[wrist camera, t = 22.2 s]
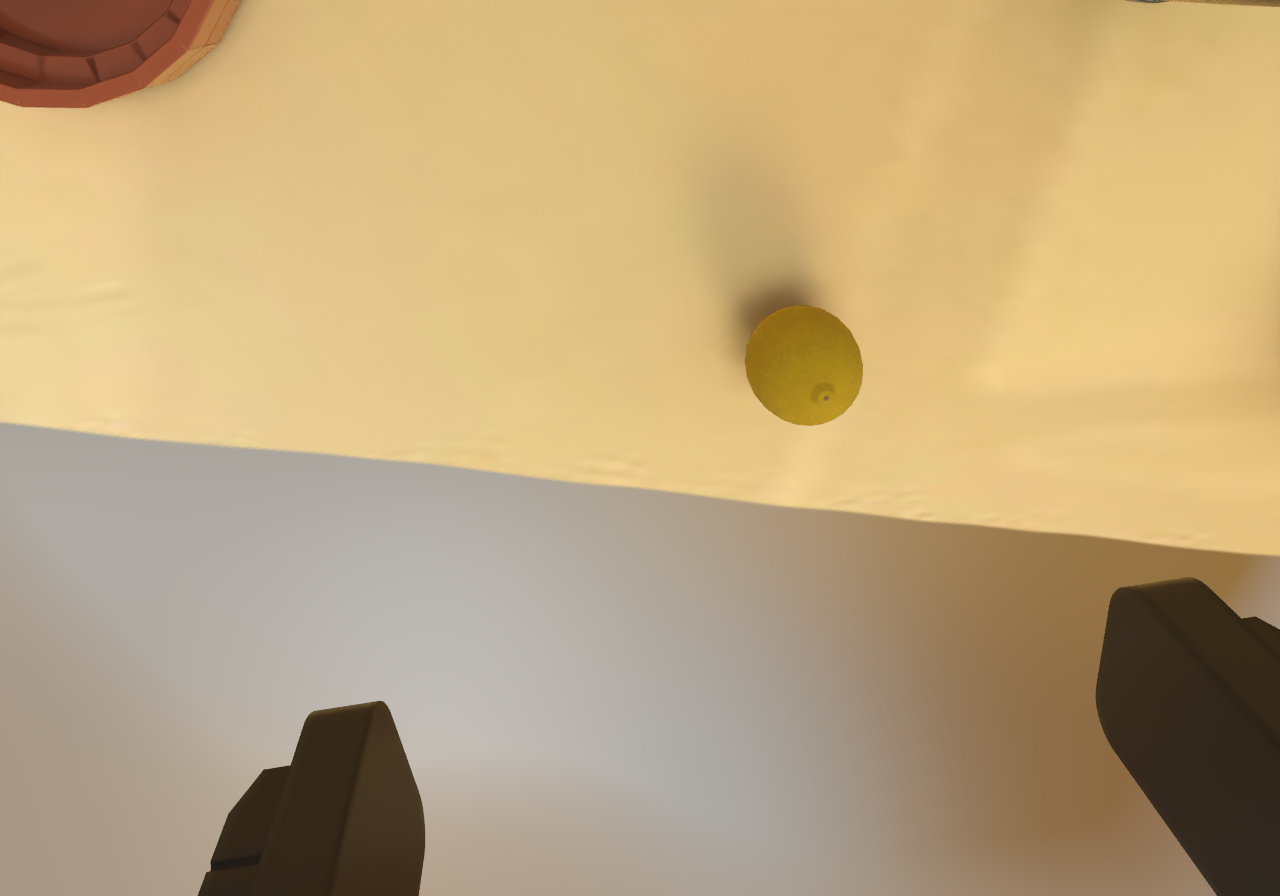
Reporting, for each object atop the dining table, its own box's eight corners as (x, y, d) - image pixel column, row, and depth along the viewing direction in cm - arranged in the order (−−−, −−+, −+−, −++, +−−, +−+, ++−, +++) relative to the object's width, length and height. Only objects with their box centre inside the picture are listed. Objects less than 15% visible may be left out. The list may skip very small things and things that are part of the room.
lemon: (738, 392, 50) (773, 462, 42) (725, 297, 47) (759, 355, 40) (837, 371, 50) (887, 438, 43) (829, 275, 47) (882, 329, 40)
